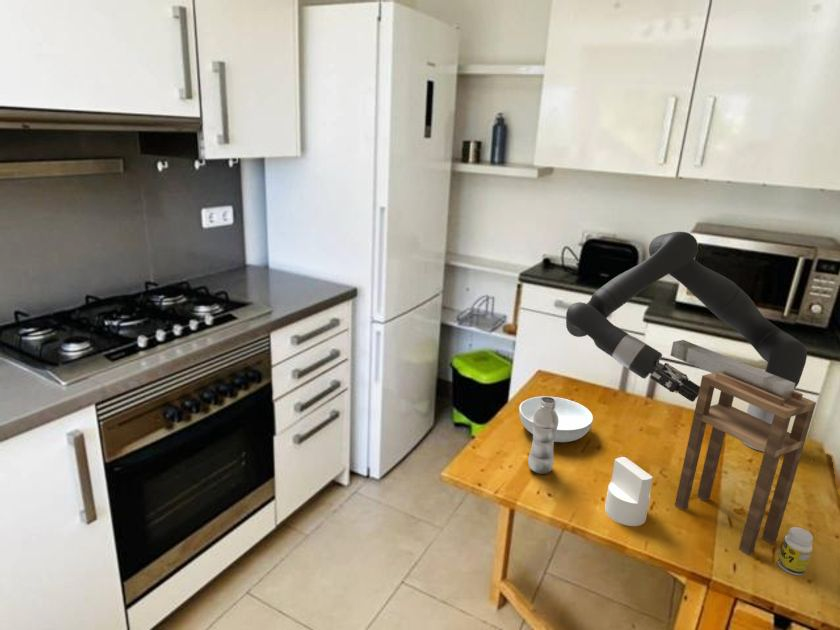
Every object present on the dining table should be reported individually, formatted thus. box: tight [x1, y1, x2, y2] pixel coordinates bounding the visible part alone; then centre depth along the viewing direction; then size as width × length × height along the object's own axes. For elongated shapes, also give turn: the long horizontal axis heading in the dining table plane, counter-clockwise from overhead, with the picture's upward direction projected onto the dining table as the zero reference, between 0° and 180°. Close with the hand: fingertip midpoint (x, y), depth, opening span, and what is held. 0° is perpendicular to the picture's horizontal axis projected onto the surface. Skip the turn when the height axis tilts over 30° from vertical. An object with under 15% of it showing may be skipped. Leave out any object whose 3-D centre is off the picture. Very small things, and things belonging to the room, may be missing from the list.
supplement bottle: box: [777, 526, 814, 576], centre depth 111 cm, size 5×5×8 cm
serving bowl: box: [518, 395, 594, 443], centre depth 160 cm, size 21×21×7 cm
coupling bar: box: [670, 339, 796, 401], centre depth 120 cm, size 4×26×4 cm, turn 27°
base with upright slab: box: [604, 456, 654, 527], centre depth 125 cm, size 9×9×12 cm
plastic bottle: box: [527, 396, 559, 475], centre depth 139 cm, size 6×7×20 cm
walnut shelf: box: [674, 372, 817, 556], centre depth 119 cm, size 10×18×35 cm, turn 28°
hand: (698, 395), depth 128 cm, fingers open, 8 cm apart
